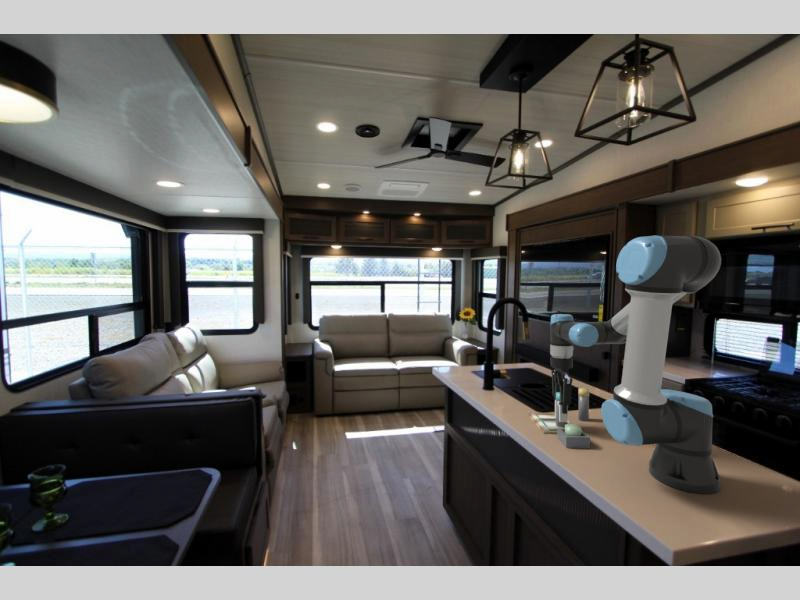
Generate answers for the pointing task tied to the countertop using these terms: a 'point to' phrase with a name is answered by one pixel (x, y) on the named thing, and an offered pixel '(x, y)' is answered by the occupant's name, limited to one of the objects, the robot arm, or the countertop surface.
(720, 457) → the countertop surface
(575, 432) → the button
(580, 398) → the ochre marker
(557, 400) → the teal marker
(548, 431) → the double window tray
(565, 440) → the button housing
